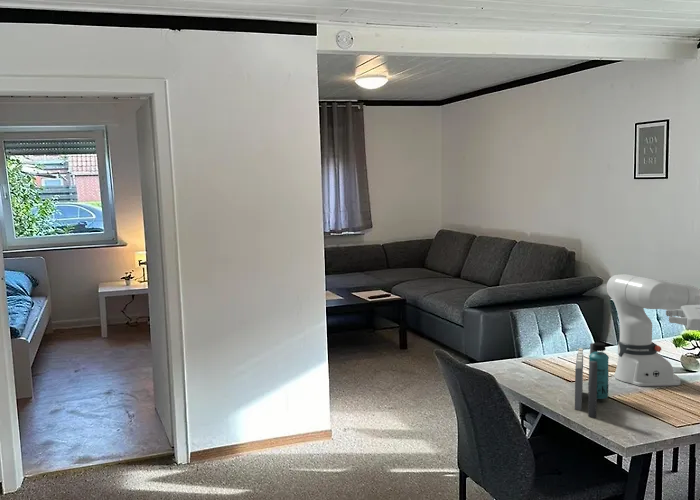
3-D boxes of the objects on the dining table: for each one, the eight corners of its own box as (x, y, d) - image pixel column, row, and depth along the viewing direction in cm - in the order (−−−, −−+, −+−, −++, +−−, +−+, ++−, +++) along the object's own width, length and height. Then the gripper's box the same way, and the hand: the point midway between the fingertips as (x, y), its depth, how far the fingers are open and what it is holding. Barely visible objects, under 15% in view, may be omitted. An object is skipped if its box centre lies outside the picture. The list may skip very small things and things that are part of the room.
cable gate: (596, 392, 222) (597, 343, 220) (596, 418, 200) (597, 363, 197) (589, 392, 223) (590, 343, 221) (588, 417, 200) (589, 362, 198)
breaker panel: (582, 392, 223) (583, 347, 221) (581, 410, 207) (582, 362, 205) (576, 391, 224) (577, 347, 222) (574, 409, 207) (575, 361, 205)
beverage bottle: (585, 397, 218) (585, 341, 216) (603, 396, 219) (603, 340, 216) (593, 403, 212) (593, 346, 209) (612, 402, 212) (612, 345, 210)
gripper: (723, 337, 184) (670, 333, 189) (711, 321, 203) (664, 318, 208) (723, 316, 184) (671, 313, 189) (712, 302, 202) (664, 300, 207)
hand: (667, 316), depth 199 cm, fingers open, 8 cm apart
